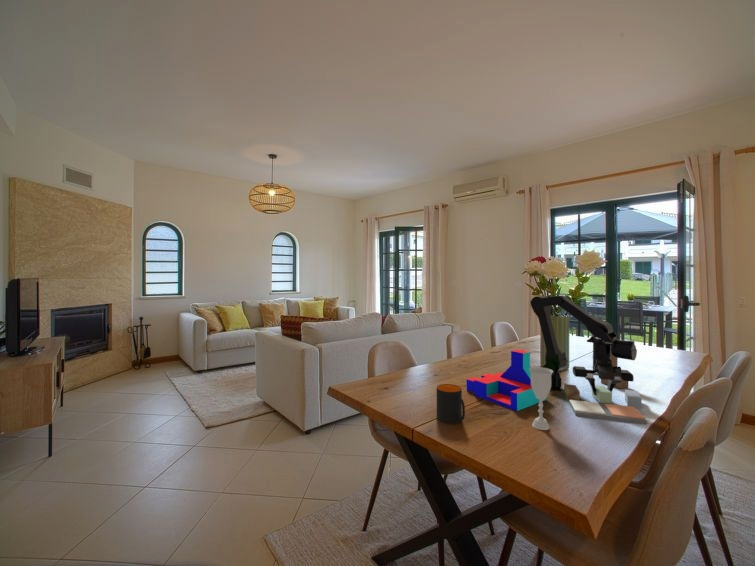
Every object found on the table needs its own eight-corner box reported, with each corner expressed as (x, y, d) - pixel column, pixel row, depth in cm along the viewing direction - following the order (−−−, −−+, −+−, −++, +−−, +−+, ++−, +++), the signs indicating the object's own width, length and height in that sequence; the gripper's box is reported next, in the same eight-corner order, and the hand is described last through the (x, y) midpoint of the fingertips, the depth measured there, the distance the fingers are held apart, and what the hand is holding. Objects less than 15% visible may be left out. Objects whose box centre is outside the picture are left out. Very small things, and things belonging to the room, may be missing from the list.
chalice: (532, 419, 111) (532, 365, 111) (555, 425, 107) (555, 369, 106) (526, 427, 105) (526, 370, 105) (549, 433, 101) (550, 374, 101)
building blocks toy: (491, 383, 150) (491, 342, 149) (546, 400, 129) (546, 353, 128) (462, 391, 139) (462, 348, 139) (517, 412, 118) (517, 360, 118)
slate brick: (627, 406, 122) (627, 396, 122) (624, 399, 129) (624, 389, 128) (641, 409, 120) (641, 398, 120) (637, 401, 127) (638, 391, 126)
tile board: (575, 415, 114) (575, 410, 114) (569, 402, 125) (569, 398, 125) (646, 424, 107) (646, 419, 107) (633, 410, 118) (633, 405, 118)
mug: (453, 430, 104) (453, 397, 104) (431, 416, 115) (431, 386, 114) (474, 425, 107) (474, 393, 107) (451, 411, 118) (451, 382, 118)
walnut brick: (567, 400, 128) (567, 390, 128) (564, 393, 136) (564, 384, 135) (579, 402, 127) (579, 391, 127) (575, 395, 134) (575, 385, 134)
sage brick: (599, 402, 124) (599, 391, 124) (591, 394, 132) (591, 384, 132) (611, 403, 123) (612, 392, 123) (603, 395, 131) (603, 385, 131)
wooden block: (628, 387, 141) (629, 345, 141) (622, 389, 140) (622, 346, 139) (607, 381, 150) (607, 341, 149) (600, 383, 148) (600, 342, 148)
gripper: (578, 358, 123) (578, 400, 123) (639, 362, 116) (639, 406, 117) (572, 351, 133) (572, 390, 134) (628, 355, 127) (627, 395, 127)
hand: (601, 395), depth 128 cm, fingers closed on sage brick, 4 cm apart
